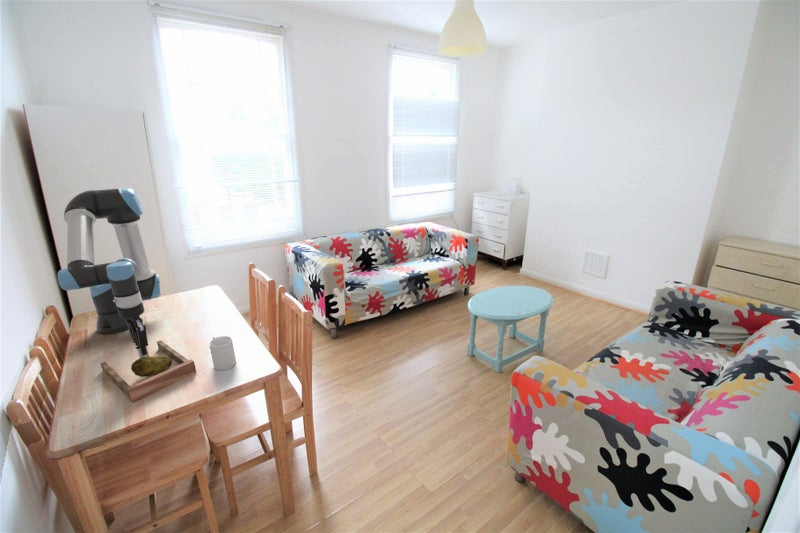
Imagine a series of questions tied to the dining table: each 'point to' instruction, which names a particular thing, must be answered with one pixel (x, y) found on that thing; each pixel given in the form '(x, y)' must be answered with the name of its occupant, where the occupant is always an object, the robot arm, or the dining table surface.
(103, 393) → the dining table surface
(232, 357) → the mug
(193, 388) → the dining table surface
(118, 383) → the channel
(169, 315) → the dining table surface
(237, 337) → the dining table surface
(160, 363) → the potato
